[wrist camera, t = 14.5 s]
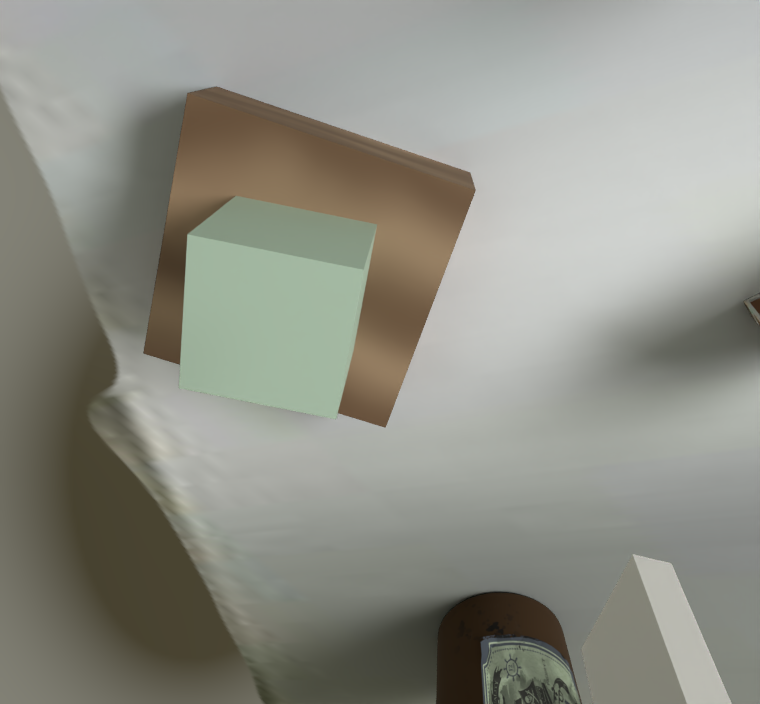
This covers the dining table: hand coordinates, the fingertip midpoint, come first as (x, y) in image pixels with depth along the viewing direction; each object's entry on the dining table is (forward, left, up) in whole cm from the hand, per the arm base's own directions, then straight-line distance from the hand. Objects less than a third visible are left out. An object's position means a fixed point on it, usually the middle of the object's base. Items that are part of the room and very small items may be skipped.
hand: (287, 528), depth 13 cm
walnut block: (+3, -3, -27) cm, 27 cm away
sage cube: (+3, -3, -22) cm, 22 cm away
